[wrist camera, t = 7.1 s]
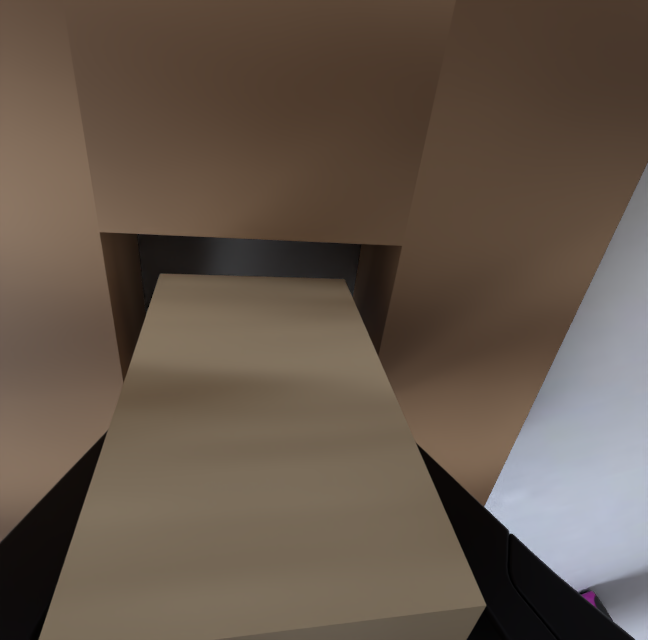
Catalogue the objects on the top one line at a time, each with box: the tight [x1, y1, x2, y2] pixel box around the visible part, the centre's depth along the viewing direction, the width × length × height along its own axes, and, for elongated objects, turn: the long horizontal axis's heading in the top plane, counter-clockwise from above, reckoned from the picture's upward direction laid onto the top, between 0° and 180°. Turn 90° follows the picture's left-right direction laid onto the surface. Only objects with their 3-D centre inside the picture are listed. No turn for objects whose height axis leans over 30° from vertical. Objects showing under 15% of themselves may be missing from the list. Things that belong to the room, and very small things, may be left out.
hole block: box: [0, 0, 648, 542], centre depth 12 cm, size 16×16×3 cm
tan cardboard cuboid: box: [39, 274, 486, 640], centre depth 8 cm, size 4×4×7 cm
